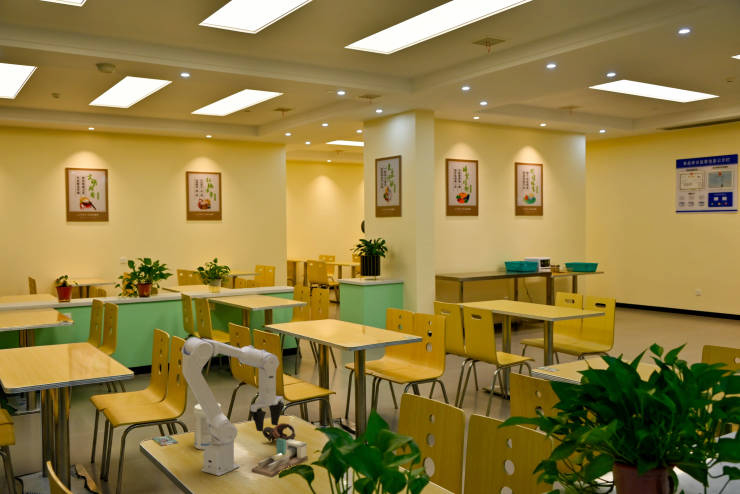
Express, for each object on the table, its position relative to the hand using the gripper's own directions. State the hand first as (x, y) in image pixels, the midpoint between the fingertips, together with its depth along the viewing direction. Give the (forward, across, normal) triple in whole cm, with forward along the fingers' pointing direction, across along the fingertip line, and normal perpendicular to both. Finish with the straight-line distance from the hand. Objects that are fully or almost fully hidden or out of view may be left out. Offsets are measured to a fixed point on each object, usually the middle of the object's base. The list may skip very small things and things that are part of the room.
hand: (267, 427), depth 216 cm
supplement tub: (+11, -2, +26) cm, 28 cm away
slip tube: (+9, 0, -8) cm, 12 cm away
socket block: (+9, +5, -8) cm, 13 cm away
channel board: (+10, -3, -8) cm, 13 cm away
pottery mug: (+11, +14, +6) cm, 19 cm away
